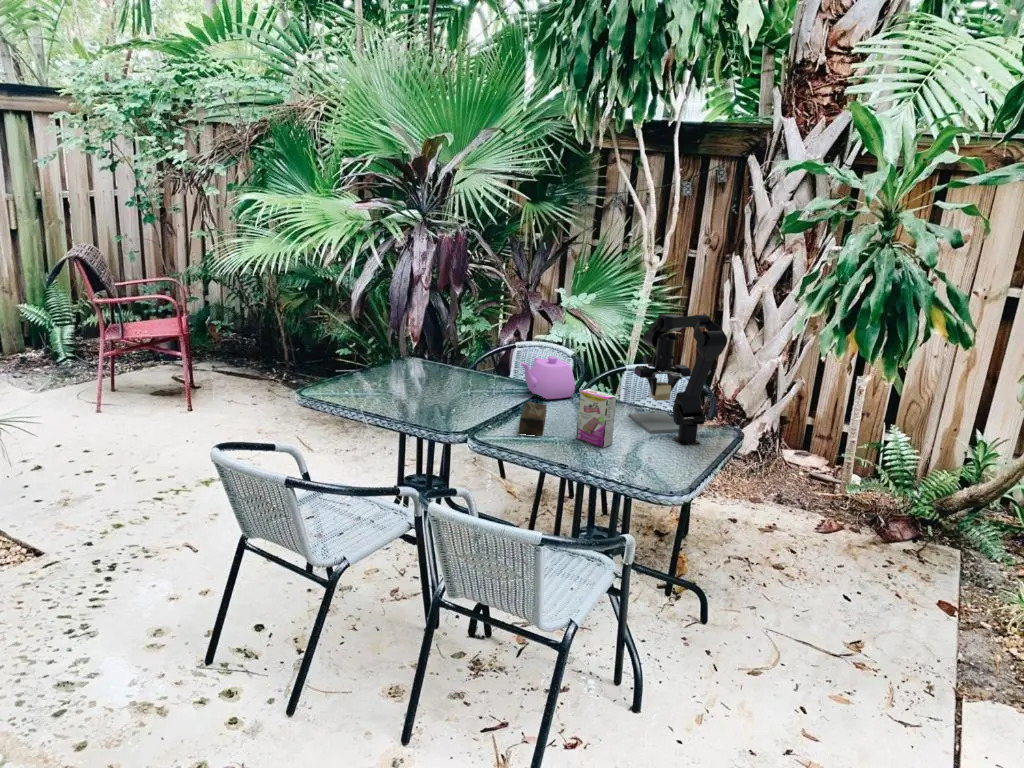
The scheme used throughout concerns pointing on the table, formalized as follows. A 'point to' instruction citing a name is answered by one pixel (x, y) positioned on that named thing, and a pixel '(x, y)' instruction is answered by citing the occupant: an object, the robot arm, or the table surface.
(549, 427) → the table surface
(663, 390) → the lettered cube
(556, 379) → the teapot
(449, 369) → the table surface
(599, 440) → the candy bar box
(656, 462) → the table surface
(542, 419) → the beverage carton
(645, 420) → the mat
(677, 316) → the robot arm
